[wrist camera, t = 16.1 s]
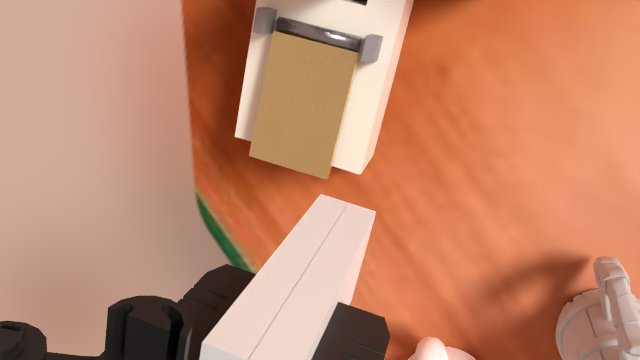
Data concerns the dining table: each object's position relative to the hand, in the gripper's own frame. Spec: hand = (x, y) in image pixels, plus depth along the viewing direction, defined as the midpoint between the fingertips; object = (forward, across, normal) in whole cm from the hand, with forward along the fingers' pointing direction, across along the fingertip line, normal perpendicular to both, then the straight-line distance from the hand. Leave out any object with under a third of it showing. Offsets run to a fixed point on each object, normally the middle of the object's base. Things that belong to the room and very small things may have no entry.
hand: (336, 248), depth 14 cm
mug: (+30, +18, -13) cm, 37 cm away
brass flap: (+24, -8, -3) cm, 25 cm away
